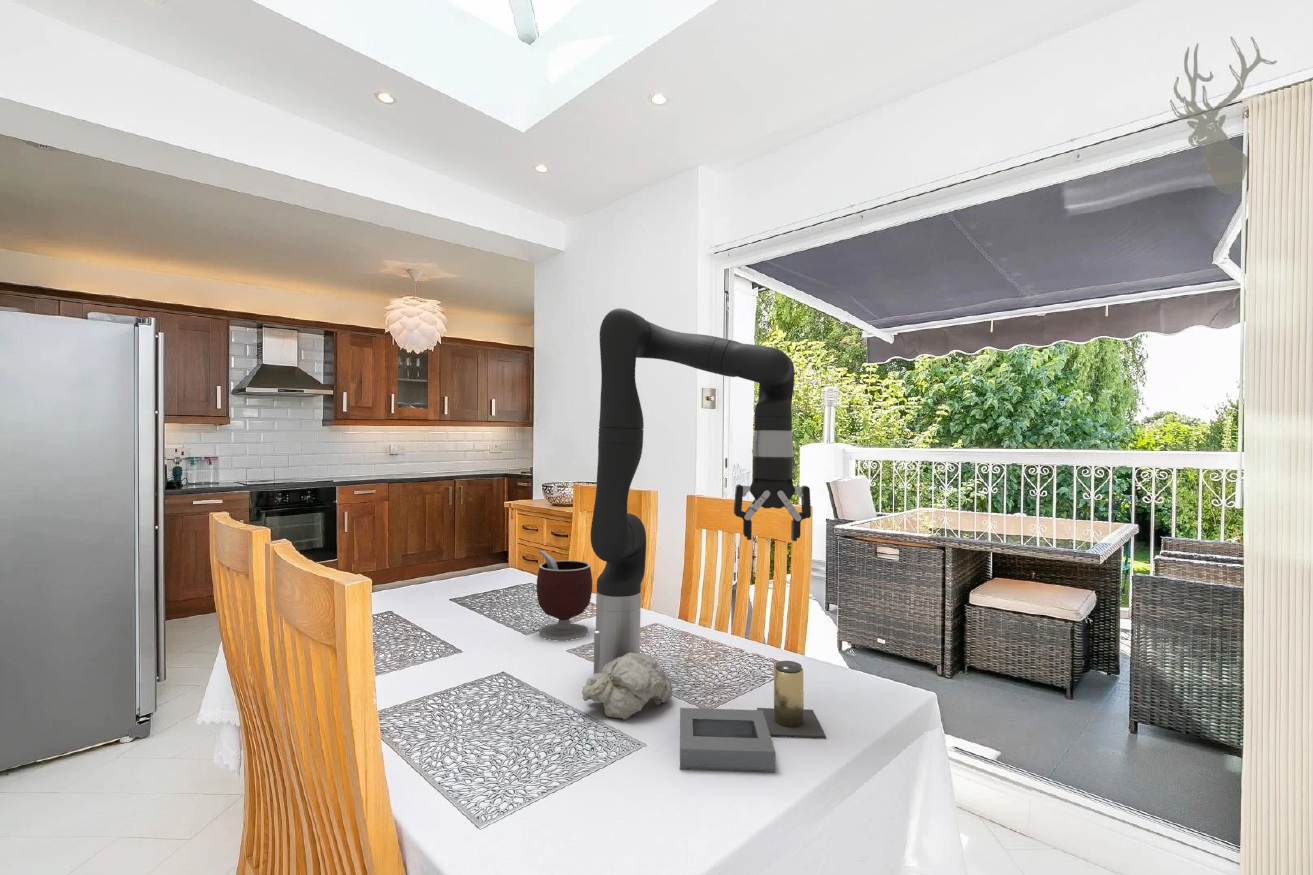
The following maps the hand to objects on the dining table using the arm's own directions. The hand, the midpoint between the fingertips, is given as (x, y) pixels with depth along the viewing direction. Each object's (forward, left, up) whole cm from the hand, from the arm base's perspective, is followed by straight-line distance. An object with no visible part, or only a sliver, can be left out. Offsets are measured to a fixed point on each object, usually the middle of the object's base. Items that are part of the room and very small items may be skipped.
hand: (771, 540), depth 116 cm
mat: (+2, -10, -30) cm, 32 cm away
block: (-10, -19, -30) cm, 37 cm away
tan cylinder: (+2, -10, -30) cm, 31 cm away
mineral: (-26, -6, -30) cm, 41 cm away
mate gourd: (-47, +37, -30) cm, 67 cm away
